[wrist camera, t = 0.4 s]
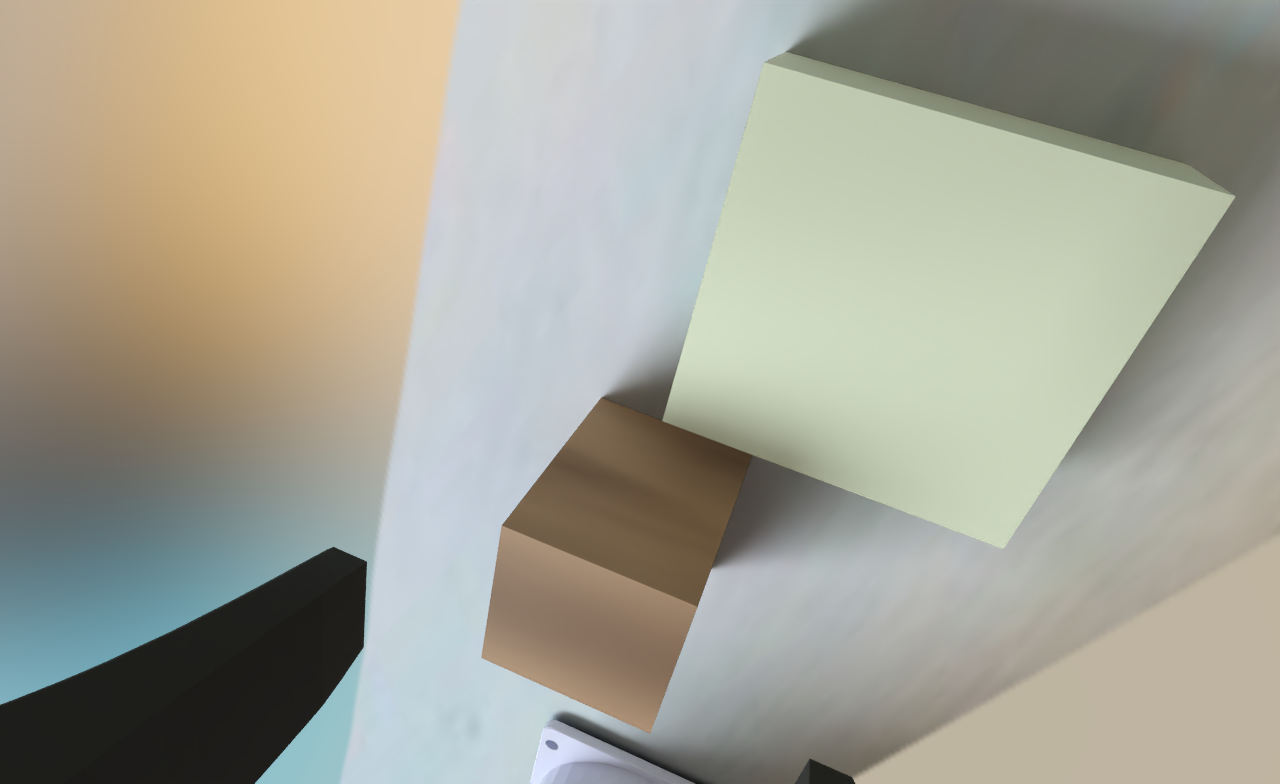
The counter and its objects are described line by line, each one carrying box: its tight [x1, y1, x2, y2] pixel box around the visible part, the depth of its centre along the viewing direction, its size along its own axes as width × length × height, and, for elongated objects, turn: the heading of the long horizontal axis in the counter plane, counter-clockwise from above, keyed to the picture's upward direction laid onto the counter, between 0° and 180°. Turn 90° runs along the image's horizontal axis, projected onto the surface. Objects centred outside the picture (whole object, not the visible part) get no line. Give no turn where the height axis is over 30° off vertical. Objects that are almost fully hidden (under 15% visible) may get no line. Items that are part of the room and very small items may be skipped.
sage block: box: [662, 52, 1236, 549], centre depth 16 cm, size 8×8×3 cm
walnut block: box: [482, 398, 752, 733], centre depth 19 cm, size 4×4×6 cm
